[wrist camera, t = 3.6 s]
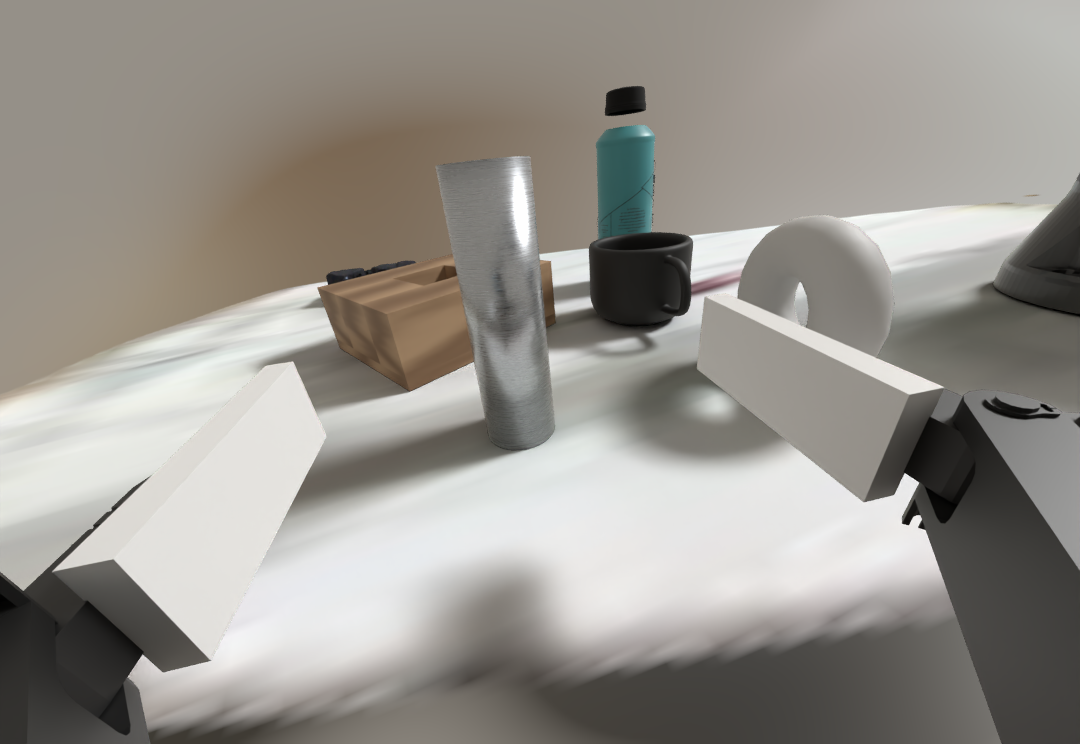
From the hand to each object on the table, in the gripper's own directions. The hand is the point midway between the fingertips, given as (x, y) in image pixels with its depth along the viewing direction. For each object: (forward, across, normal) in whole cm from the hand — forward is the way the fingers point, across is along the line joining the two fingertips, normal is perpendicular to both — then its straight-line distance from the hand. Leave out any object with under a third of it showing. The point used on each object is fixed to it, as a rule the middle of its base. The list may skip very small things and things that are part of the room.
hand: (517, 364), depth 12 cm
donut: (+7, +18, -8) cm, 21 cm away
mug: (+21, +14, -8) cm, 26 cm away
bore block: (+25, -4, -8) cm, 26 cm away
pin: (+7, 0, -8) cm, 11 cm away
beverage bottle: (+34, +17, -8) cm, 39 cm away
